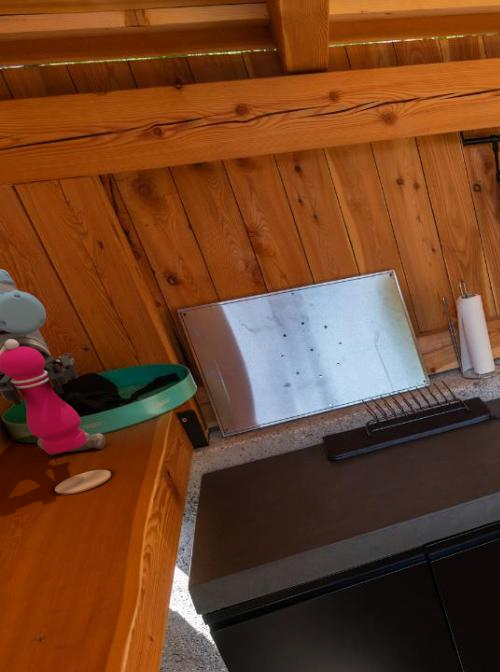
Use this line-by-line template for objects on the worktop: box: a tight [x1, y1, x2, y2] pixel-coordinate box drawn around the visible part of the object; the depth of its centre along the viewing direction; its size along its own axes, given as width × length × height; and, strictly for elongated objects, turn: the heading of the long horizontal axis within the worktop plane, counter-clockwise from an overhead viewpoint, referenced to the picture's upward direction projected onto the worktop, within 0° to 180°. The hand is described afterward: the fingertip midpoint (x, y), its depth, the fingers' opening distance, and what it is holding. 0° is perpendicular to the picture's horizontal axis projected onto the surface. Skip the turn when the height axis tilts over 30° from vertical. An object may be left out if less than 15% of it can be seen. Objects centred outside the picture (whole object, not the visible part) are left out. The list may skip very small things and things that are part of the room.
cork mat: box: [54, 469, 112, 496], centre depth 138 cm, size 8×8×1 cm
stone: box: [37, 431, 106, 456], centre depth 149 cm, size 10×6×8 cm
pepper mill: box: [0, 339, 87, 454], centre depth 131 cm, size 7×7×20 cm
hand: (36, 391), depth 127 cm, fingers closed on pepper mill, 5 cm apart
